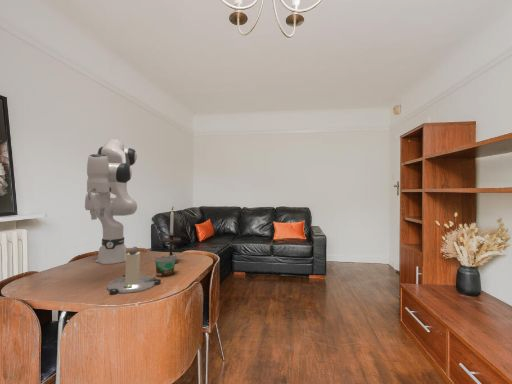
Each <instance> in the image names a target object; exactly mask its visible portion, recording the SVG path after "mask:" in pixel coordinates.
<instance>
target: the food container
mask: <svg viewBox="0 0 512 384" xmlns="http://www.w3.org/2000/svg"><path fill="white" fill-rule="evenodd" d="M172 254H173V255H163V256H161V257H158V256H157V257H156V256H155V257H154V260H153V261H154V262H155V274H156V275H155V276H156V277H158V278H164V277H167V278H168V277H171V276H173V275H174V274H175V265H176V264H175V259H176V260H178V259H177V254H176V253H173V252H172Z"/></svg>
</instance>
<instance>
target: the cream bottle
mask: <svg viewBox="0 0 512 384" xmlns="http://www.w3.org/2000/svg"><path fill="white" fill-rule="evenodd" d="M138 249H139V248H138V247H137V246H133V247H131V249H130V250H129V252H127V254H126V261H125V275H126V277H125V284H131V283H138V281H139V280H140V275H141V254H142V253H141V251H138Z"/></svg>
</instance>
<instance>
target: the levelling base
mask: <svg viewBox="0 0 512 384" xmlns="http://www.w3.org/2000/svg"><path fill="white" fill-rule="evenodd" d="M125 277H126V274H124V275H122V276H121V277H118V278H115V279H112V280H110V281H109V282H108V283H107V291H108V292H109V293H108V294H109V295H110V296H113V295H118V294H134V293H139V292H143V291H147V290H149V289H152V288H154V286H158V285H161V283H162V282H161V279H157V278H156V277H155V276H153V275H149V274H148V275H147V274H140V280H139V281H138V283H131V284H125Z"/></svg>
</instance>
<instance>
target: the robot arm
mask: <svg viewBox="0 0 512 384" xmlns="http://www.w3.org/2000/svg"><path fill="white" fill-rule="evenodd" d="M87 158H88V159H87V164H86V173H87V175H86V176H87V181H86V194H85V197H84V198H85V199H84V208H85V210H86V211H89V214H90V215H91V216H90V219H91V220H93V221H94V220H97V219H98V220H99V222H100V224H101V226H102V238H101V246H100V247H99V248H98V255H97V259H95V260H94V261H95V263H99V264H103V265H110V264H118V263H120V264H121V263H123V262H126V254H128V252H127V251H128V250H127V246H126V245H125V237H124V229H125V228H124V224H123V223H122V222H120V221H117V220H115V219H114V217H115V216H117V217H118V216H121V217H122V216H124V217H126V216H130V215H134V214H135V213H136V212H137V210H138V209H137V208H138V204H137V202H136V200H135V199H134V198H132V197H131V196H130V195H129V193H128V190H127V188H128V187H127V184H128V182H129V181H131V179H132V168H131V166H133V165H135V163H136V161H137V159H138V156H137V151H136V150H135V149H134V148H130V147H129V148H128V147H125V145H124V143H123V142H122V141H121V140H120V139H117V138H112V139H109V140H108V141H106V142H105V144H104V145H103V146H101V147H99V148H98V150H97V153H93V154H89V155H88V157H87ZM111 194H113V195H115V197H111Z"/></svg>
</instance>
